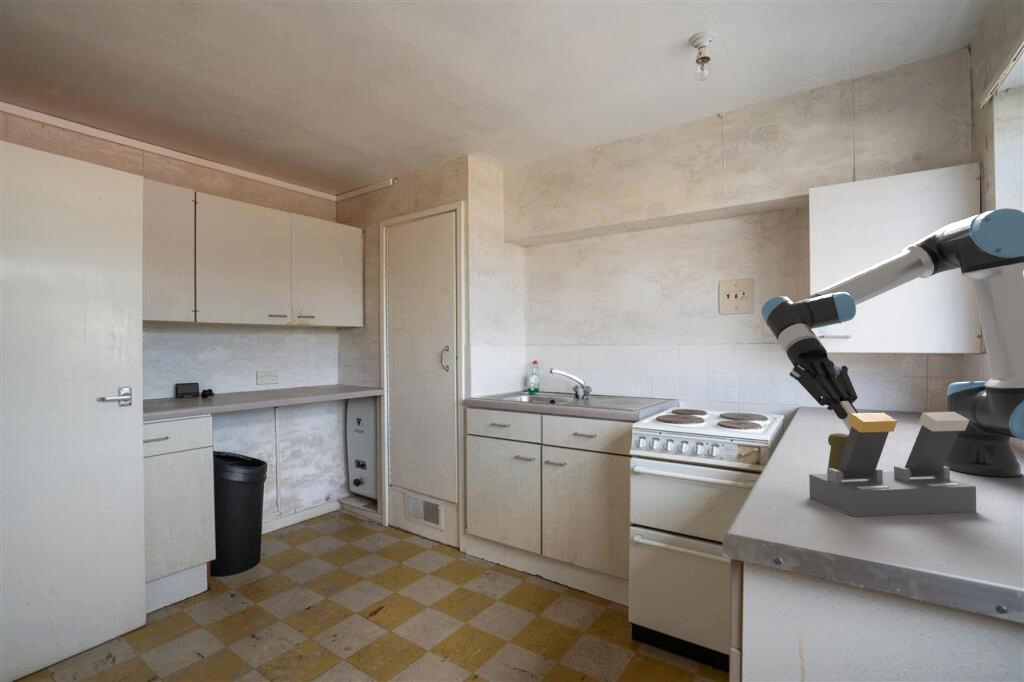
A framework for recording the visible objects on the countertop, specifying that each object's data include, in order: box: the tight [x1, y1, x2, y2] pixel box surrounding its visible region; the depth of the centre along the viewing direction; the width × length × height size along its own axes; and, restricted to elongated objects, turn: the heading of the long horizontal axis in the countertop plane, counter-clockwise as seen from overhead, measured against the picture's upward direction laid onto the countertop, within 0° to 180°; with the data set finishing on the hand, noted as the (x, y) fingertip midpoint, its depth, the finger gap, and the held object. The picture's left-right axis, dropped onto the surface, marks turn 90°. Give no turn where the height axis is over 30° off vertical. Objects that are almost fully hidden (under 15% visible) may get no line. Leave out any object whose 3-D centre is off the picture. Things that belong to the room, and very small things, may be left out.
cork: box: [827, 432, 849, 470], centre depth 119 cm, size 6×6×11 cm
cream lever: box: [904, 411, 970, 478], centre depth 97 cm, size 3×7×15 cm, turn 95°
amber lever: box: [838, 412, 898, 480], centre depth 96 cm, size 3×7×15 cm, turn 95°
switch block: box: [808, 465, 977, 517], centre depth 99 cm, size 26×12×8 cm, turn 95°
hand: (858, 430), depth 97 cm, fingers closed
